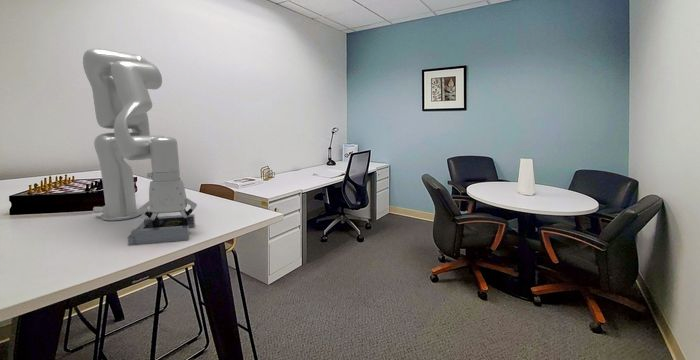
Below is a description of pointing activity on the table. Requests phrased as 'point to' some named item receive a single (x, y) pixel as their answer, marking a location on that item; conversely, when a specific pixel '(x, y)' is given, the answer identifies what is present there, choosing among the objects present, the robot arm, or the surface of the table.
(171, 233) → the c-clamp
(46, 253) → the table surface
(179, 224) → the tape measure
